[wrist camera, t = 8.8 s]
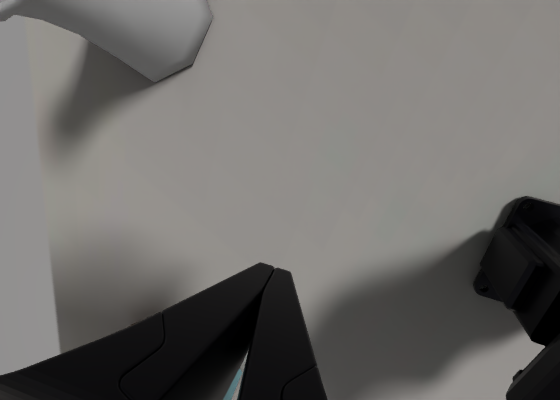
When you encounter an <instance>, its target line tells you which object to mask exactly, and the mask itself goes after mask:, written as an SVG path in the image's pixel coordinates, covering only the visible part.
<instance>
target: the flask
mask: <svg viewBox="0 0 560 400" xmlns="http://www.w3.org/2000/svg"><path fill="white" fill-rule="evenodd" d="M13 15H20V16H25V17H30V18H35V19H40V20H44V21H46V22H49V23H51V24H54V25H56V26H59V27H61V28H64V29H66V30H69V31H71V32H74V33H76V34H79V35H81V36H82V37H84V38H85V39H87V40H89V41H90V42H92V43H94V44H95V45H97V46H99V47H100V48H102V49H104V50H105V51H107V52H109V53H110V54H112V55H114V56H115V57H117V58H118V59H120V60H121V61H123V62H124V63H126V64H127V65H129V66H130V67H132V68H133V69H135V70H136V71H138V72H139V73H141V74H142V75H144V76H145V77H147V78H149V79H150V80H152V81H154V82H157V81H159V80H161V79H163V78H165V77H167V76H169V75H171V74H173V73H175V72H177V71H179V70H181V69H183V68H185V67H187V66H189V65H191V64H193V62H194V60H195V57H196V55H197V53H198V51H199V48H200V46H201V44H202V41H203V39H204V37H205V34H206V32H207V30H208V28H209V25H210V23H211V21H212V18H213V15H212V12H211V10H210V7H209V5H208V2H207V0H0V21H6V20H7V19H8V18H10V17H11V16H13Z"/></svg>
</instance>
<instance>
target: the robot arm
mask: <svg viewBox="0 0 560 400" xmlns="http://www.w3.org/2000/svg"><path fill="white" fill-rule="evenodd" d="M527 203H531V205H530V207H529V208H527V209H523V207H524V205H525V204H527ZM480 266H481V267H482V268H481V269H480V271H479V273H478V275H477V277H476V279H475V281H474V283H473V287H474V289H475V291H476V293H477V294H479V295H481V296H484V297H488V298H491V299H494V300H498V301H501V302H503V303H504V305H505V307H506V308H507V309H509V310H512V311H513V312H514V314H515V315H516V317H517V319H518V320H519V322H520V323H521V325H522V326H523V328H524V330H525V331H526V333H527V334H528V336H529V337H530V339H531V341H533V342H535V343H538V344H541V345H544V346H545V348H544V349H543V350H542V351H541V352H540V353H539V354H538V355H537V356H536V357H535V358H534V359H533V360H532V361H531V362H530V363H529V365H528V366H527V367H526V368H525V369H524V370H519V371H518V372H517V373H516V374H515V375H514V376H513V383H512V384H511V385H510V387H509V389H508V391H507V393H506V400H560V204H556V203H553V202H549V201H545V200H541V199H537V198H533V197H529V196H525V197H521V198H520V199H518V200H517V202H516V203H515V205H514V207H513V209H512V211H511V213H510V214H509V216H508V218H507V220H506V222H505V224H504V226H503V227H502V228H500V229H498V230H497V232H496V234H495V236H494V238H493V240H492V242H491V244H490V246H489V247H488V249H487V251H486V253H485V255H484V257H483V259H482V261H481V263H480ZM482 285H486V287H485V288H483V289H482V288H480V287H481V286H482ZM248 350H249V351H248ZM247 352H248V355H247V359H246V363H245V368H244V372H243V377H242V381H241V385H240V390H239V394H238V398H237V400H327V397H326V393H325V390H324V387H323V384H322V381H321V377H320V374H319V370H318V368H317V363H316V360H315V356H314V353H313V349H312V346H311V342H310V339H309V335H308V331H307V328H306V324H305V321H304V317H303V314H302V310H301V307H300V303H299V299H298V296H297V292H296V289H295V285H294V282H293V278H292V275H291V272H289V271H287V270H283V269H280V268H274V267H273V266H271V265H268V264H264V263H258V264H256V265H254V266H252V267H249V268H247V269H245V270H243V271H241V272H239V273H237V274H235V275H233V276H231V277H229V278H227V279H225V280H223V281H221V282H219V283H217V284H215V285H213V286H211V287H209V288H207V289H205V290H203V291H201V292H199V293H197V294H195V295H193V296H191V297H189V298H187V299H185V300H183V301H181V302H179V303H177V304H175V305H173V306H171V307H169V308H167V309H165V310H163V311H162V313H161V312H159V313H157V314H155V315H153V316H151V317H149V318H147V319H145V320H142V321H140V322H138V323H136V324H134V325H132V326H129V327H127V328H125V329H123V330H121V331H118V332H116V333H113V334H111V335H108V336H106V337H103V338H101V339H99V340H96V341H94V342H91V343H88V344H86V345H83V346H81V347H78V348H75V349H73V350H70V351H68V352H65V353H62V354H60V355H57V356H55V357H52V358H49V359H47V360H44V361H42V362H39V363H37V364H34V365H31V366H29V367H27V368H23V369H21V370H18V371H15V372H11V373H8V374H4V375H0V400H223V399H224V397H225V395H226V393H227V391H228V389H229V387H230V385H231V383H232V382H233V380H234V378H235V376H236V374H237V372H238V370H239V368H240V366H241V364H242V362H243V360H244V358H245V356H246V354H247Z"/></svg>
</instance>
